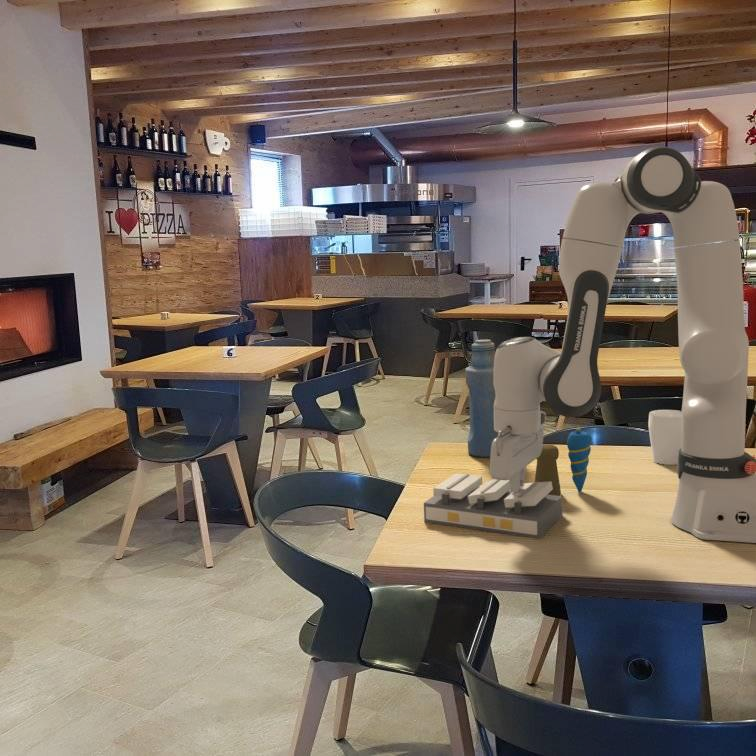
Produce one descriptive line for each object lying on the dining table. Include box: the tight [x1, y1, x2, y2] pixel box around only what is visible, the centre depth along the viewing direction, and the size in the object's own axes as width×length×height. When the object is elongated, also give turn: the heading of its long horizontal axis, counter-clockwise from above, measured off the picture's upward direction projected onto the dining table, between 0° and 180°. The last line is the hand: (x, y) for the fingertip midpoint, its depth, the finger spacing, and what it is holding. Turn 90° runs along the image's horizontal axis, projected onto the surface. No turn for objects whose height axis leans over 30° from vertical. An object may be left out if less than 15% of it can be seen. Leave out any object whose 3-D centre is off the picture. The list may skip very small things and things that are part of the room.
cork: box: [534, 443, 562, 496], centre depth 173 cm, size 6×6×11 cm
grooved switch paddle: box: [432, 473, 483, 499], centre depth 163 cm, size 6×11×2 cm, turn 150°
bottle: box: [464, 339, 498, 459], centre depth 207 cm, size 10×10×30 cm
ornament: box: [566, 425, 592, 493], centre depth 174 cm, size 5×5×15 cm
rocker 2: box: [504, 481, 553, 508], centre depth 156 cm, size 6×11×2 cm, turn 150°
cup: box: [647, 409, 682, 466], centre depth 194 cm, size 9×9×12 cm
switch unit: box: [423, 485, 563, 540], centre depth 160 cm, size 24×14×6 cm, turn 60°
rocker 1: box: [468, 479, 510, 504], centre depth 160 cm, size 6×11×2 cm, turn 150°
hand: (517, 489), depth 157 cm, fingers closed
